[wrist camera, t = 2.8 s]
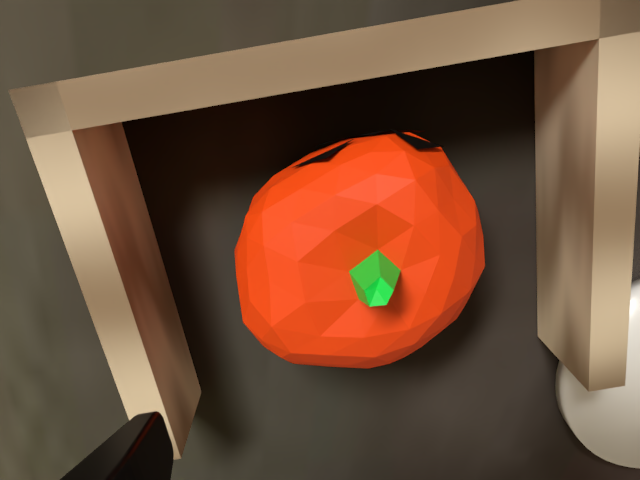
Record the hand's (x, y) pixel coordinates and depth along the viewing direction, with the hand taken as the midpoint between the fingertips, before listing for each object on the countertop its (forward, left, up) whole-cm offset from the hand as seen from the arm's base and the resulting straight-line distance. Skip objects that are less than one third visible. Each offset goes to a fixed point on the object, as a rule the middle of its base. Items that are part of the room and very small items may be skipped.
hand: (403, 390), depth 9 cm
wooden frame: (+1, 0, -9) cm, 9 cm away
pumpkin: (0, 0, -9) cm, 9 cm away
